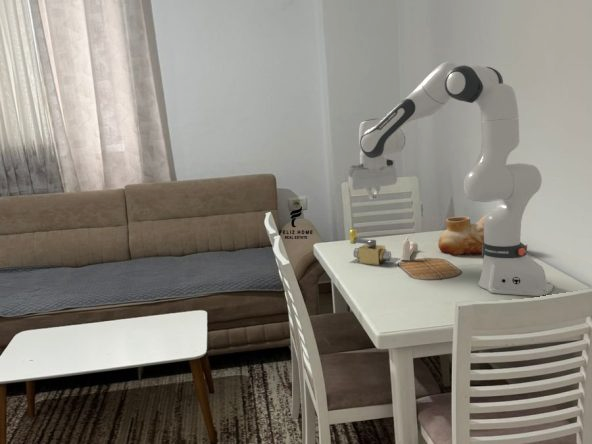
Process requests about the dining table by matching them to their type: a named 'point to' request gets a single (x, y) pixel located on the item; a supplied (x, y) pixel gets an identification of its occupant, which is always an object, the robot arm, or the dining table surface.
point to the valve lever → (361, 240)
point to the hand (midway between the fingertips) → (373, 199)
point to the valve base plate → (380, 264)
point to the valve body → (372, 254)
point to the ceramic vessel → (462, 237)
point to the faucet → (408, 249)
